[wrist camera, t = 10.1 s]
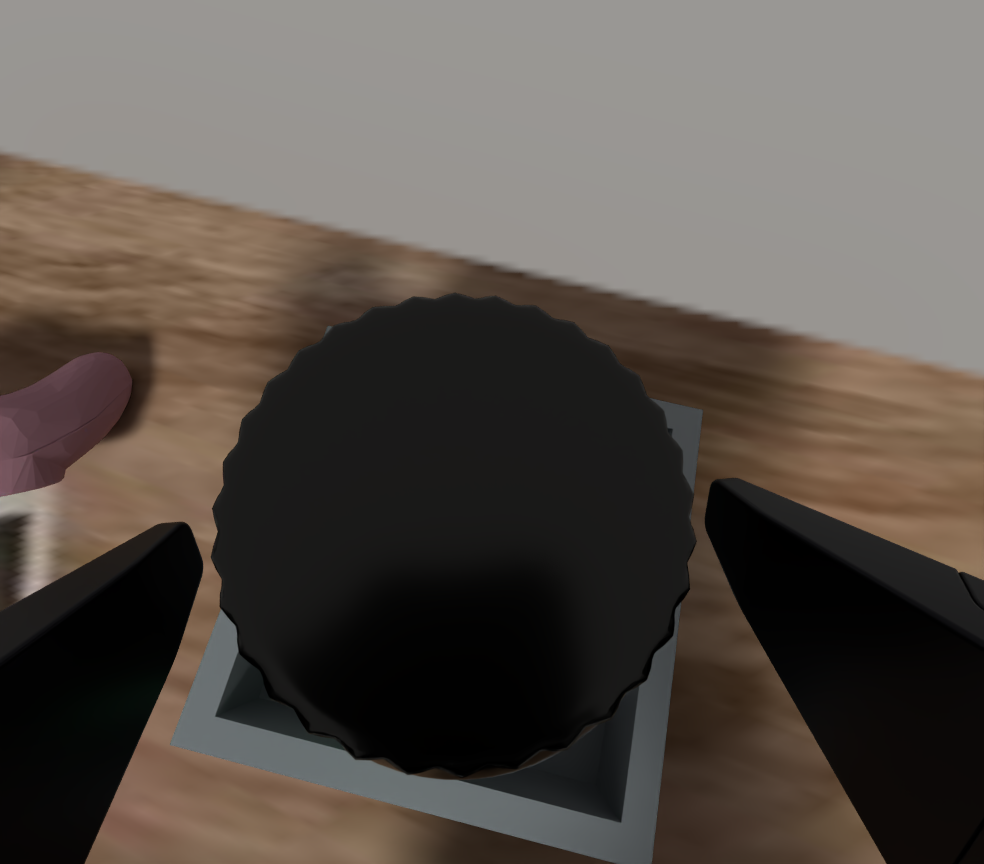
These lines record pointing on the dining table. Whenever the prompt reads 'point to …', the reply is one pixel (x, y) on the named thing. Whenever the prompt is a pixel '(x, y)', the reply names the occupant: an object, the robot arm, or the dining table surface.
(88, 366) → the video game controller
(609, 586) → the supplement bottle
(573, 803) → the tray
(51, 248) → the dining table surface
